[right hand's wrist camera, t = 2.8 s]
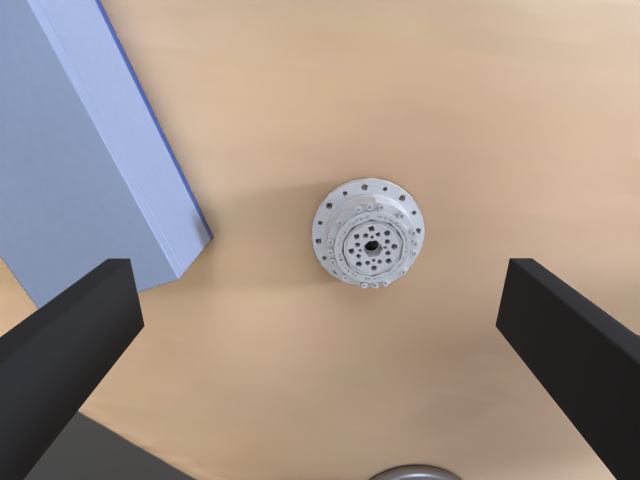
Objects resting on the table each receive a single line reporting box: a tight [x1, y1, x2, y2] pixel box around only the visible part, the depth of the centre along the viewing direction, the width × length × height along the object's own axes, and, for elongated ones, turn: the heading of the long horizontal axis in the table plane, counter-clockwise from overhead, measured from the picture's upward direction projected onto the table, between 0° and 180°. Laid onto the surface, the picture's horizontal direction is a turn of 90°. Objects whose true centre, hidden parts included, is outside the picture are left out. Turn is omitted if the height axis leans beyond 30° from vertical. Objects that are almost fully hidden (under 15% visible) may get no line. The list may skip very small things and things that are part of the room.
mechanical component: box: [312, 177, 425, 289], centre depth 31 cm, size 10×4×10 cm
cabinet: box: [0, 0, 213, 309], centre depth 26 cm, size 20×11×9 cm, turn 19°
